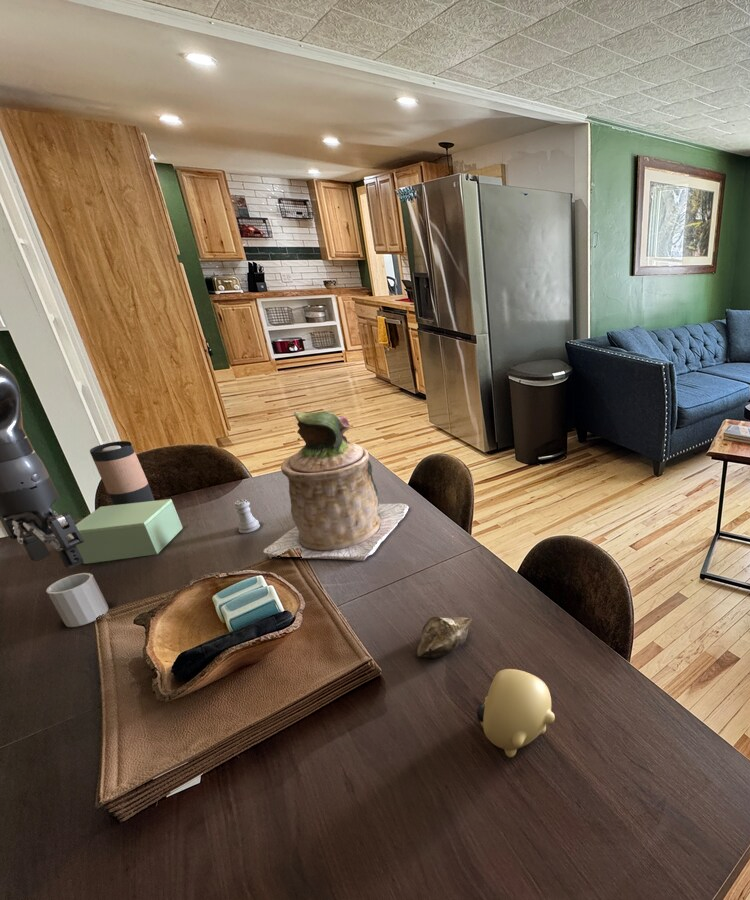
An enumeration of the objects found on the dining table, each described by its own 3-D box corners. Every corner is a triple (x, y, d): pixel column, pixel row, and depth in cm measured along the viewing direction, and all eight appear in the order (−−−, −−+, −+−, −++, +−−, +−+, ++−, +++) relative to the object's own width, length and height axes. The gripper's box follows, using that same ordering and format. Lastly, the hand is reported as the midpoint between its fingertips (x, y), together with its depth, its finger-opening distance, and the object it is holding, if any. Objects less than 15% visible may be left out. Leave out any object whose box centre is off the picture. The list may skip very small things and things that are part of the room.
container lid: (66, 535, 102) (64, 532, 102) (101, 509, 112) (100, 506, 112) (145, 525, 105) (143, 522, 105) (172, 501, 116) (171, 498, 115)
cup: (57, 631, 87) (37, 596, 84) (79, 609, 92) (61, 575, 89) (96, 624, 88) (78, 590, 85) (116, 603, 93) (100, 570, 90)
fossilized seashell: (426, 666, 77) (482, 643, 83) (419, 624, 77) (475, 606, 84) (411, 662, 82) (465, 641, 89) (404, 623, 83) (458, 606, 90)
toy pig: (542, 727, 73) (514, 661, 76) (575, 722, 64) (541, 647, 67) (485, 768, 67) (456, 694, 70) (512, 767, 58) (478, 684, 61)
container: (84, 565, 105) (69, 535, 102) (117, 537, 115) (104, 509, 112) (157, 555, 108) (145, 526, 105) (183, 529, 119) (172, 501, 116)
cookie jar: (369, 563, 106) (339, 430, 94) (261, 561, 106) (217, 428, 94) (412, 508, 129) (392, 395, 116) (323, 507, 129) (294, 394, 117)
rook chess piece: (262, 523, 121) (254, 496, 118) (258, 532, 117) (249, 504, 114) (242, 526, 120) (232, 499, 117) (236, 535, 116) (227, 507, 113)
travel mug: (113, 522, 122) (80, 450, 114) (145, 507, 129) (116, 439, 121) (135, 526, 120) (103, 453, 112) (167, 511, 127) (139, 442, 119)
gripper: (-46, 486, 77) (3, 568, 83) (14, 496, 74) (60, 580, 80) (16, 468, 84) (57, 545, 90) (74, 476, 81) (111, 555, 87)
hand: (58, 561), depth 85 cm, fingers open, 8 cm apart
